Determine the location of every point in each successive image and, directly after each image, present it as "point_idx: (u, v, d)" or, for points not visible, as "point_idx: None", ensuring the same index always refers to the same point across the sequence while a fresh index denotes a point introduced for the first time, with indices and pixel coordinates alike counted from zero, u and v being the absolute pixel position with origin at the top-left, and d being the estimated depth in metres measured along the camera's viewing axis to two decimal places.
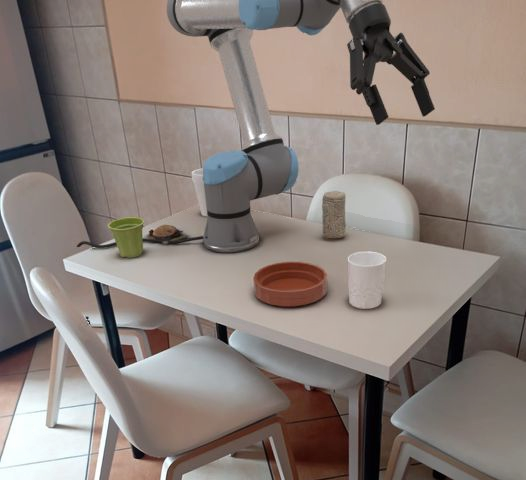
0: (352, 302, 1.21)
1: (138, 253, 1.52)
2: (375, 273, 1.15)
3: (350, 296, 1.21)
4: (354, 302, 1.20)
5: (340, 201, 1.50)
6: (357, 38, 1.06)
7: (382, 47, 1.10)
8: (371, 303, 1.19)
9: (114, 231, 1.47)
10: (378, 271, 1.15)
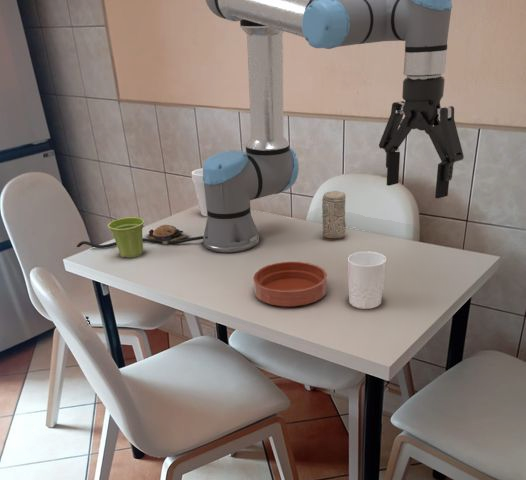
0: (352, 302, 1.21)
1: (138, 253, 1.52)
2: (375, 273, 1.15)
3: (350, 296, 1.21)
4: (354, 302, 1.20)
5: (340, 201, 1.50)
6: None
7: None
8: (371, 303, 1.19)
9: (114, 231, 1.47)
10: (378, 271, 1.15)
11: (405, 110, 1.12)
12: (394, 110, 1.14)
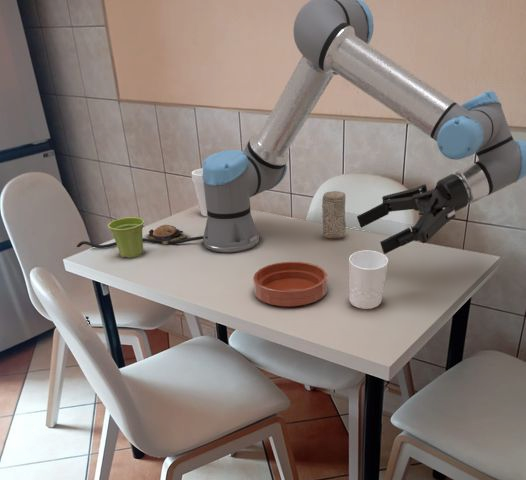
0: (352, 301, 1.21)
1: (138, 253, 1.52)
2: (376, 276, 1.15)
3: (350, 295, 1.21)
4: (354, 302, 1.20)
5: (340, 201, 1.50)
6: None
7: None
8: (371, 304, 1.19)
9: (114, 231, 1.47)
10: (380, 274, 1.15)
11: None
12: (419, 188, 1.26)
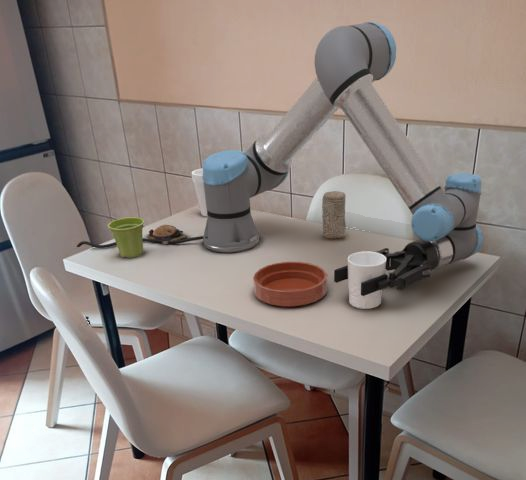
0: (352, 302, 1.21)
1: (138, 253, 1.52)
2: (375, 273, 1.15)
3: (350, 296, 1.21)
4: (354, 302, 1.20)
5: (340, 201, 1.50)
6: None
7: None
8: (371, 303, 1.19)
9: (114, 231, 1.47)
10: (378, 271, 1.15)
11: None
12: (384, 250, 1.28)
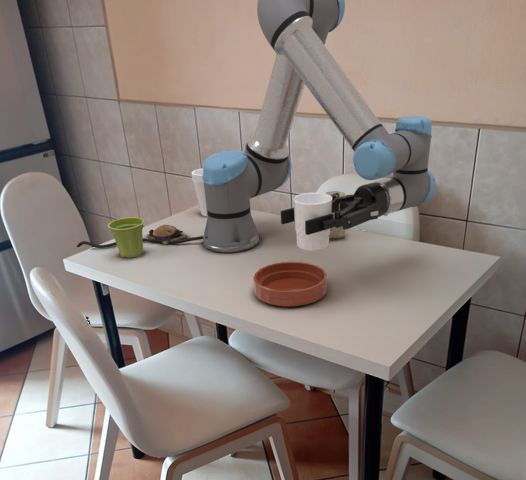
0: (299, 244, 1.19)
1: (138, 253, 1.52)
2: (320, 212, 1.14)
3: (297, 238, 1.19)
4: (301, 244, 1.19)
5: None
6: (374, 218, 1.19)
7: None
8: (318, 244, 1.17)
9: (114, 231, 1.47)
10: (323, 210, 1.14)
11: None
12: (335, 194, 1.26)
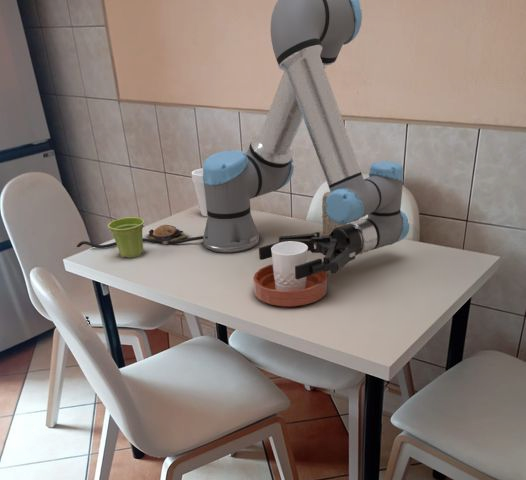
0: None
1: (138, 253, 1.52)
2: (296, 261, 1.21)
3: (275, 284, 1.27)
4: None
5: None
6: None
7: None
8: (294, 290, 1.25)
9: (114, 231, 1.47)
10: (299, 259, 1.21)
11: None
12: (314, 234, 1.34)
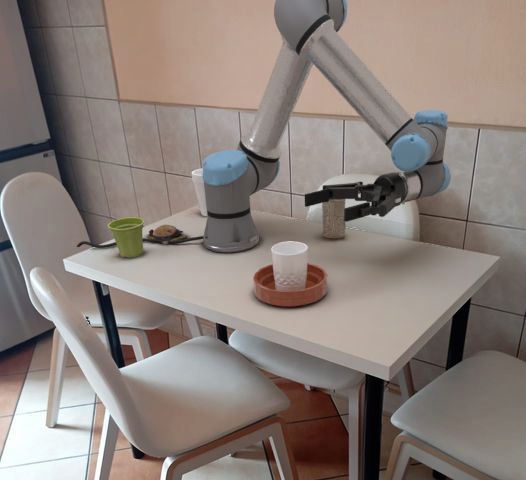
0: None
1: (138, 253, 1.52)
2: (296, 261, 1.21)
3: (275, 284, 1.27)
4: None
5: (340, 201, 1.50)
6: None
7: None
8: (294, 290, 1.25)
9: (114, 231, 1.47)
10: (299, 259, 1.21)
11: None
12: (357, 183, 1.35)
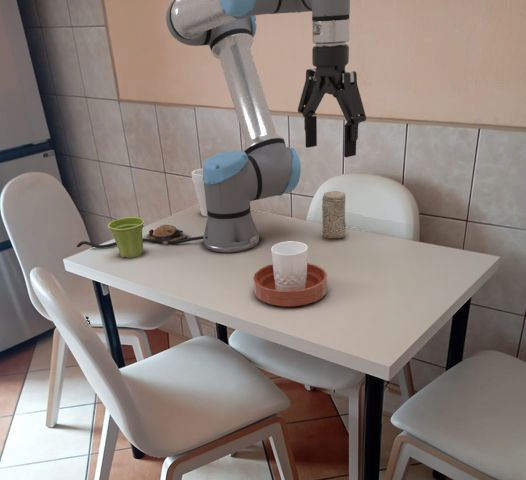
0: None
1: (138, 253, 1.52)
2: (296, 261, 1.21)
3: (275, 284, 1.27)
4: None
5: (340, 201, 1.50)
6: (306, 73, 1.24)
7: (324, 84, 1.21)
8: (294, 290, 1.25)
9: (114, 231, 1.47)
10: (299, 259, 1.21)
11: None
12: None
